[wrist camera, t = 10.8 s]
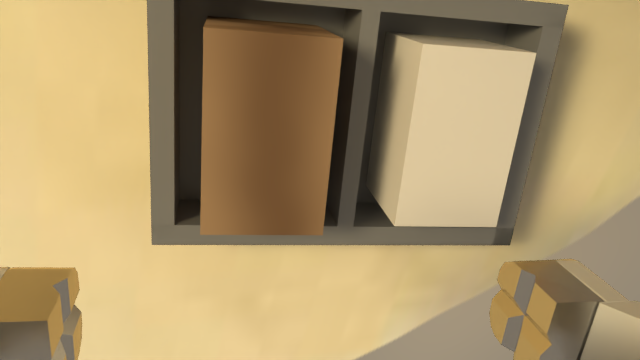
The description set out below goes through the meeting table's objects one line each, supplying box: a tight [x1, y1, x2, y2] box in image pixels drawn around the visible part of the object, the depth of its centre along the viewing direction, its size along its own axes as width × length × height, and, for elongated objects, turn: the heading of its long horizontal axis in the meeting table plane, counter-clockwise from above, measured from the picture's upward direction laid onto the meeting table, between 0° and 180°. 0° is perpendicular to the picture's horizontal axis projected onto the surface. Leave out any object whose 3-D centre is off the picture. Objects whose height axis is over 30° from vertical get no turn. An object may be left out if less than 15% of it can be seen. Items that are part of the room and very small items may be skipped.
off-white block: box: [366, 32, 536, 227], centre depth 25 cm, size 5×8×5 cm, turn 175°
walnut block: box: [200, 16, 343, 235], centre depth 23 cm, size 5×8×6 cm, turn 175°
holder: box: [147, 0, 569, 245], centre depth 25 cm, size 18×12×4 cm, turn 85°
